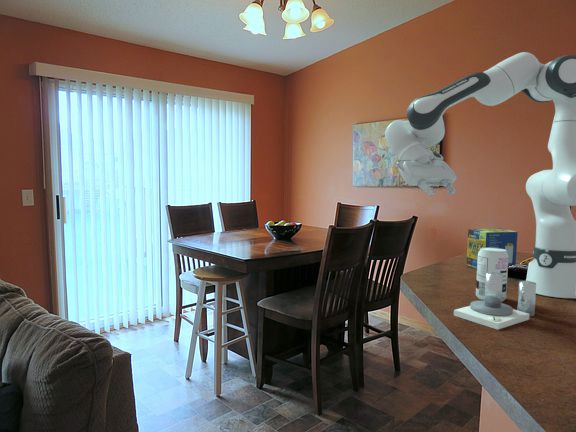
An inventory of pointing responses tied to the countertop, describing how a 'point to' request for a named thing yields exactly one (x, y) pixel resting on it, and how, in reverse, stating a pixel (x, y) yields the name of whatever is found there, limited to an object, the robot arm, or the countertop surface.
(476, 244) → the protein box
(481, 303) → the scale
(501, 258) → the supplement can
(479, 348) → the countertop surface
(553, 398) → the countertop surface
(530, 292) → the cylinder
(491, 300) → the glossy grey rounded cylinder
